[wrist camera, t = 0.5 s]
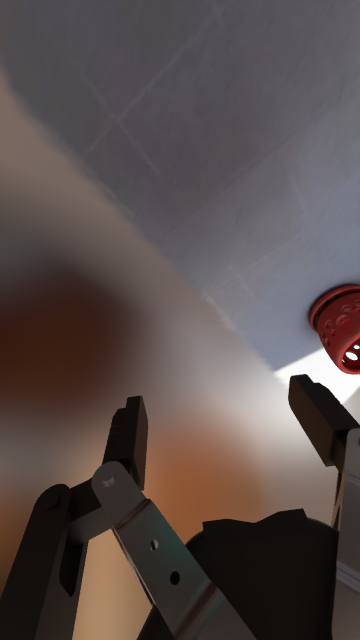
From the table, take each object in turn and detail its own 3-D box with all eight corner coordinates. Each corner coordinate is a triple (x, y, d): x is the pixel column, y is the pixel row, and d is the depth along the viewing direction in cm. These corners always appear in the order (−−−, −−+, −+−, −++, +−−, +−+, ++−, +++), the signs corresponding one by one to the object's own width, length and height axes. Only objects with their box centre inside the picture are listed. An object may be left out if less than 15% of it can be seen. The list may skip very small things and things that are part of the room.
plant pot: (345, 332, 55) (382, 378, 46) (291, 326, 52) (320, 373, 43) (389, 281, 47) (446, 326, 38) (329, 271, 44) (374, 316, 35)
